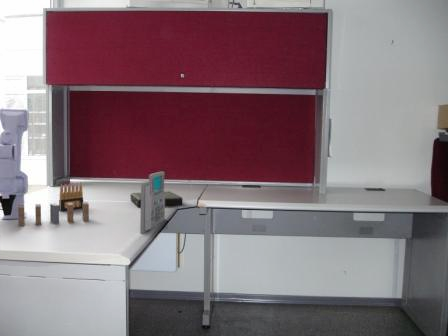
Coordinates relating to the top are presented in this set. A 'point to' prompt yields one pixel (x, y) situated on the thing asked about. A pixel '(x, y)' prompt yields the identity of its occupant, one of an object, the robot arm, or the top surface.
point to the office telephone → (152, 201)
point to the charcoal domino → (54, 213)
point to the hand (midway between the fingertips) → (7, 215)
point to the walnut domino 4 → (85, 211)
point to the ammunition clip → (71, 197)
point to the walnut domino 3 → (70, 212)
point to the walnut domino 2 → (38, 214)
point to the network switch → (170, 199)
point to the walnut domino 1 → (21, 215)
